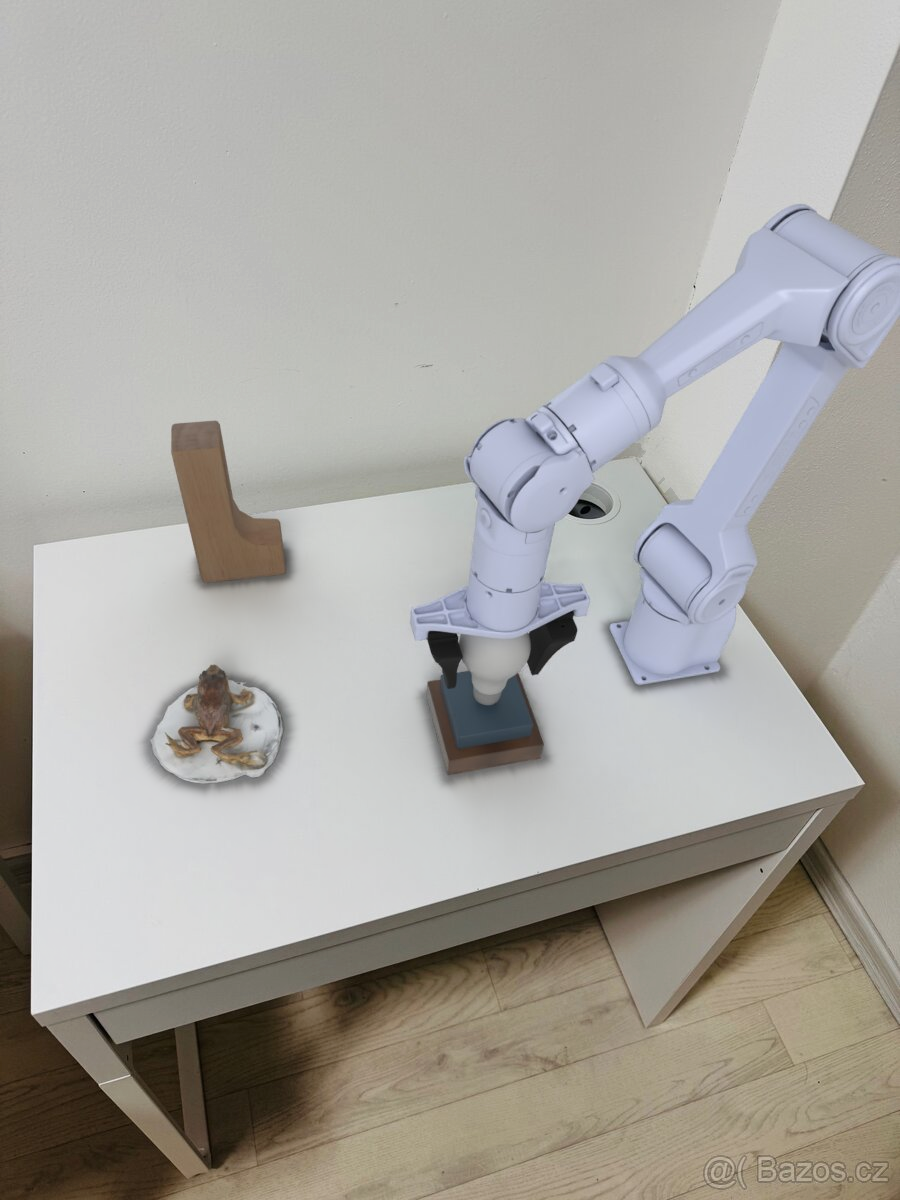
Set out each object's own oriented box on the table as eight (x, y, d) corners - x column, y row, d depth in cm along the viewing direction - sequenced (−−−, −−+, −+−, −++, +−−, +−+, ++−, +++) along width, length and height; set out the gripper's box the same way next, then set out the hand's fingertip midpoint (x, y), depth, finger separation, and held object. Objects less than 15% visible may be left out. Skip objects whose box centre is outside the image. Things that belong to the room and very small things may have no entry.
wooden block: (283, 546, 95) (266, 414, 81) (286, 575, 92) (270, 443, 78) (201, 555, 93) (170, 422, 80) (202, 584, 90) (170, 451, 77)
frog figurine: (152, 688, 81) (144, 664, 78) (278, 673, 83) (274, 649, 80) (147, 793, 73) (138, 771, 71) (286, 774, 76) (282, 752, 73)
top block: (509, 676, 81) (511, 663, 80) (530, 736, 77) (533, 724, 75) (439, 687, 80) (440, 674, 78) (456, 749, 75) (458, 737, 74)
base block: (513, 681, 84) (516, 666, 82) (540, 758, 78) (544, 744, 76) (426, 696, 82) (427, 681, 80) (447, 775, 76) (448, 761, 75)
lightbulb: (513, 733, 75) (530, 657, 66) (446, 719, 75) (454, 642, 67) (523, 679, 79) (539, 602, 70) (459, 666, 79) (468, 588, 71)
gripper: (579, 519, 68) (554, 626, 78) (404, 541, 65) (401, 649, 75) (610, 582, 63) (579, 687, 73) (423, 608, 60) (417, 714, 70)
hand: (490, 672), depth 74 cm, fingers open, 7 cm apart
